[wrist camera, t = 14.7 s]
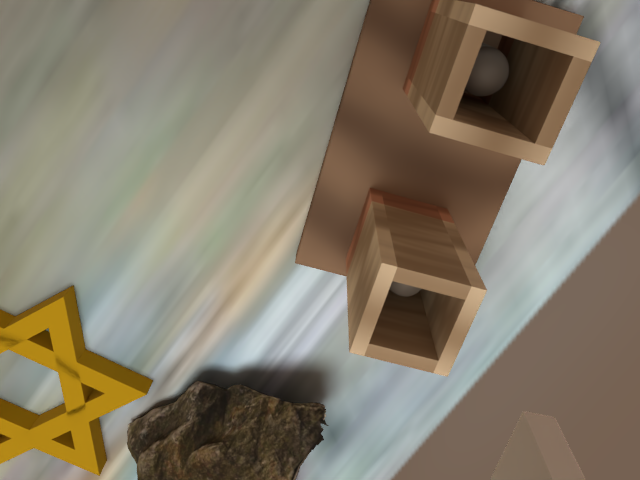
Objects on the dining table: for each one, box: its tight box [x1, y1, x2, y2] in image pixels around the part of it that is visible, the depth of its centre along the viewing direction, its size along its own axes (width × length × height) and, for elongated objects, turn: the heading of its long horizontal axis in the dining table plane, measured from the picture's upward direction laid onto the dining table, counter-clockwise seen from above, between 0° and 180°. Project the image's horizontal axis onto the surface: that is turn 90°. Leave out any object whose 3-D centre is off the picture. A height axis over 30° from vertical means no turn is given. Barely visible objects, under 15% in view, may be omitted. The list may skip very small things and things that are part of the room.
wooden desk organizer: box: [295, 0, 584, 377], centre depth 33 cm, size 20×12×12 cm, turn 164°
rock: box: [127, 381, 328, 480], centre depth 45 cm, size 18×10×15 cm
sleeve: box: [403, 0, 601, 165], centre depth 29 cm, size 5×5×11 cm
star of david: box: [0, 286, 153, 476], centre depth 46 cm, size 20×17×2 cm
